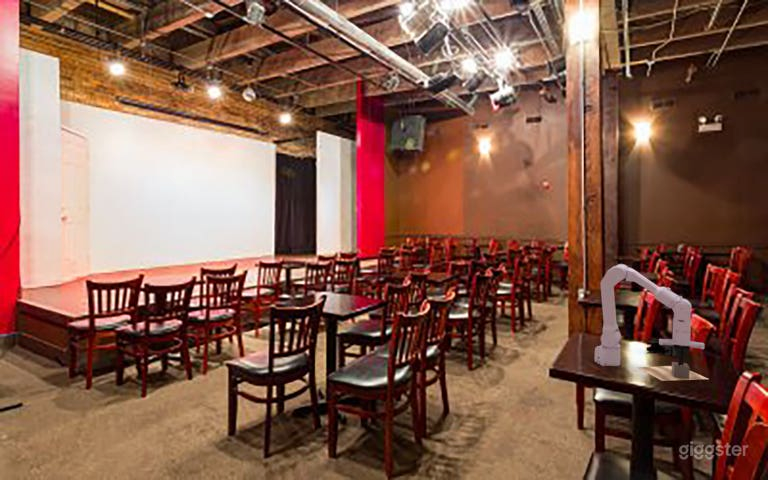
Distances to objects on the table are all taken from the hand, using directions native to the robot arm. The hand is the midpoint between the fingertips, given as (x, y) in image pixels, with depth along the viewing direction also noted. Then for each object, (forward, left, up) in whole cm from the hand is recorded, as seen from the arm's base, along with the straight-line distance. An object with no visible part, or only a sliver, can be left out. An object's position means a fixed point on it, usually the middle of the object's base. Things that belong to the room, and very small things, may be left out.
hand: (680, 364), depth 169 cm
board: (-1, +4, -6) cm, 7 cm away
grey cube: (0, 0, -5) cm, 5 cm away
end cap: (+14, +29, -6) cm, 33 cm away
